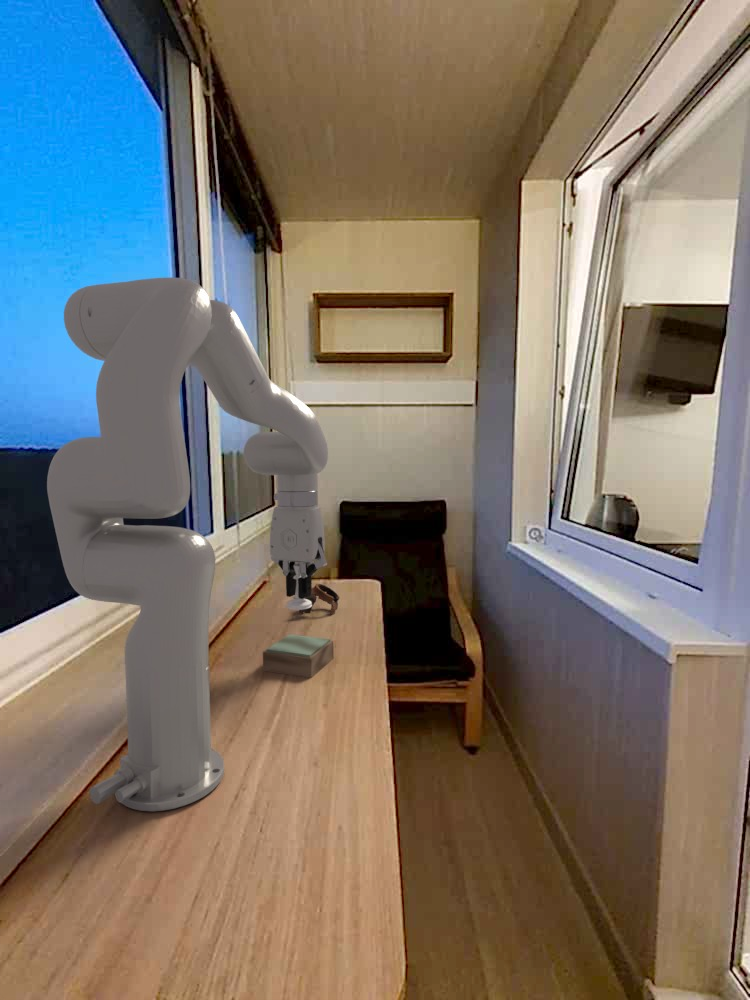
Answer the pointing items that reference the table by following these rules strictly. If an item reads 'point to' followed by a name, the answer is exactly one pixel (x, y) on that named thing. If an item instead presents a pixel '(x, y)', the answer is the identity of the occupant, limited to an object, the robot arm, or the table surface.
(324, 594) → the brown curved open ring
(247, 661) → the table surface
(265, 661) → the pedestal
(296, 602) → the chess piece
